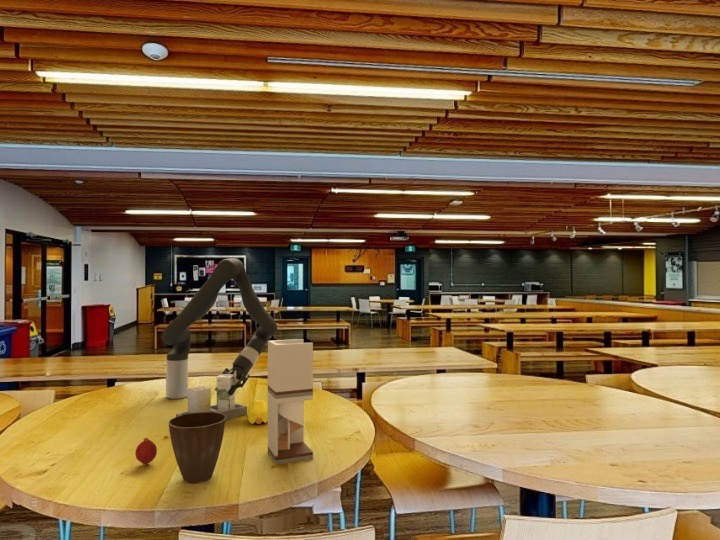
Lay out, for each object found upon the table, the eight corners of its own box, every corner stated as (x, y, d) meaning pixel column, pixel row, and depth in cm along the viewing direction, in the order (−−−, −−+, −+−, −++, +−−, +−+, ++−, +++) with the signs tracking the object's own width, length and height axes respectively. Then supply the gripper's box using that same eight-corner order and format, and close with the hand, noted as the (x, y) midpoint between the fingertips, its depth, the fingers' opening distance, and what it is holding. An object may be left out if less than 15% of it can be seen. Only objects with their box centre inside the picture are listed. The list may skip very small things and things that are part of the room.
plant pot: (155, 484, 128) (155, 423, 128) (193, 464, 142) (194, 409, 142) (201, 493, 122) (201, 430, 123) (236, 471, 136) (236, 414, 137)
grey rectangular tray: (176, 422, 183) (176, 414, 183) (228, 408, 201) (228, 401, 201) (194, 428, 175) (194, 420, 175) (247, 413, 194) (247, 406, 194)
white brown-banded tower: (275, 464, 141) (275, 345, 142) (267, 452, 151) (267, 340, 151) (312, 458, 146) (312, 342, 146) (302, 447, 155) (302, 338, 156)
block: (187, 420, 183) (187, 388, 183) (201, 416, 188) (201, 386, 188) (196, 423, 179) (196, 391, 180) (210, 419, 184) (210, 388, 184)
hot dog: (248, 427, 177) (269, 425, 179) (248, 409, 177) (269, 407, 179) (247, 414, 195) (267, 412, 196) (247, 397, 195) (267, 396, 197)
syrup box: (235, 409, 196) (235, 373, 196) (230, 413, 190) (229, 376, 190) (221, 409, 196) (221, 373, 197) (216, 413, 191) (216, 376, 191)
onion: (139, 461, 144) (139, 434, 144) (159, 460, 144) (159, 433, 145) (132, 468, 138) (132, 440, 138) (152, 468, 139) (153, 440, 139)
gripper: (230, 352, 204) (206, 385, 194) (252, 356, 195) (228, 390, 186) (240, 363, 208) (217, 395, 199) (262, 367, 199) (239, 401, 190)
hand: (222, 392), depth 192 cm, fingers closed on syrup box, 8 cm apart
